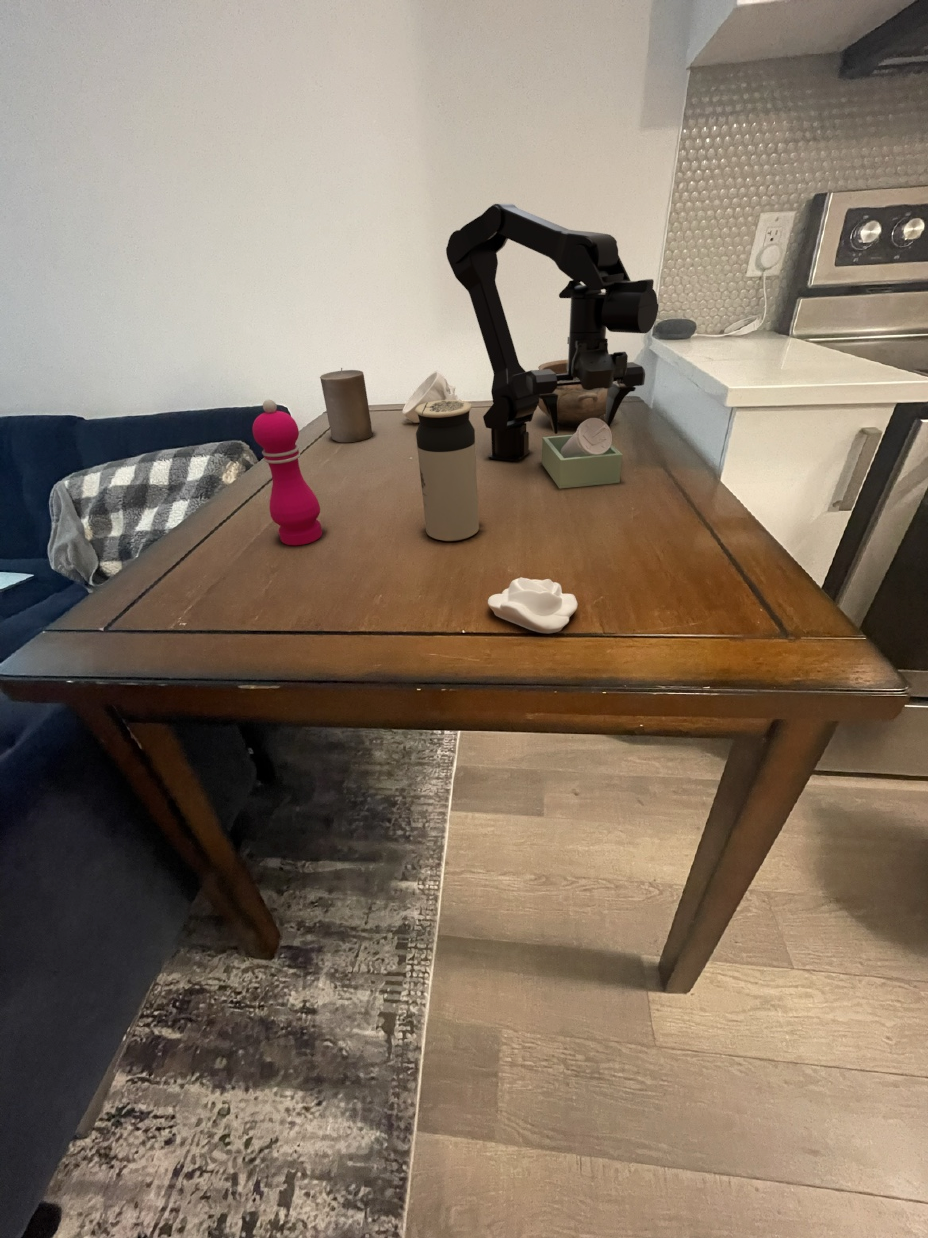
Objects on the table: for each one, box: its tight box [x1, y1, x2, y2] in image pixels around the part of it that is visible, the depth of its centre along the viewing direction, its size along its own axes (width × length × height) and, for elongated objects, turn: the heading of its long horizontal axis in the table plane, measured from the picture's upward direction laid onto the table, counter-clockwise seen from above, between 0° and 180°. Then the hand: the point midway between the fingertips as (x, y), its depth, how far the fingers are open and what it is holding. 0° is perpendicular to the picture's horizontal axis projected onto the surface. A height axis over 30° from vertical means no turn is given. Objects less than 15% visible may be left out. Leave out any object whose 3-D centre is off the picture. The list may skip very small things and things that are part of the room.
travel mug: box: [415, 399, 480, 542], centre depth 77 cm, size 8×8×18 cm
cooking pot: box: [537, 359, 607, 427], centre depth 123 cm, size 25×19×12 cm
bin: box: [541, 434, 623, 489], centre depth 98 cm, size 14×11×5 cm
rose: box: [487, 576, 578, 634], centre depth 61 cm, size 10×4×10 cm
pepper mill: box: [252, 398, 323, 546], centre depth 78 cm, size 7×7×20 cm
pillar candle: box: [319, 367, 374, 443], centre depth 123 cm, size 10×10×15 cm
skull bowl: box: [401, 370, 463, 424], centre depth 134 cm, size 10×14×12 cm
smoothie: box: [561, 418, 613, 458], centre depth 94 cm, size 6×6×14 cm
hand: (581, 430), depth 95 cm, fingers open, 9 cm apart
